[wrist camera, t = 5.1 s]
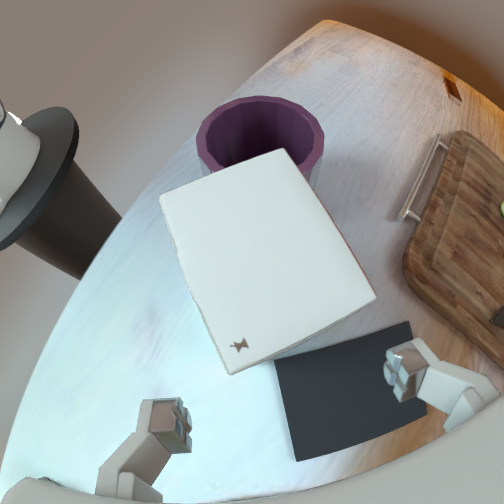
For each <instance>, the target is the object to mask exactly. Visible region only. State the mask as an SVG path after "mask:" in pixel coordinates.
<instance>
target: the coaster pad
mask: <svg viewBox="0 0 504 504" xmlns="http://www.w3.org/2000/svg"><path fill="white" fill-rule="evenodd" d="M411 340H413V336H412V332H411V328H410V324H409V321H408V322H405V323H402V324H399V325H397V326H394V327H391V328H388V329H385V330H382V331H379V332H376V333H373V334H370V335H367V336H364V337H361V338H358V339H354V340H351V341H348V342H344V343H341V344H338V345H334V346H330V347H327V348H323V349H319V350H316V351H312V352H308V353H304V354H300V355H296V356H292V357H287V358H283V359H279V360H275V361H274V362H275V367H276V371H277V376H278V380H279V385H280V389H281V394H282V398H283V403H284V407H285V412H286V417H287V421H288V426H289V430H290V435H291V439H292V444H293V448H294V453H295V457H296V461H297V462H299V461H303V460H307V459H311V458H315V457H318V456H322V455H326V454H329V453H332V452H336V451H339V450H342V449H345V448H348V447H351V446H354V445H357V444H360V443H363V442H365V441H368V440H371V439H373V438H376V437H378V436H381V435H383V434H386V433H388V432H390V431H393V430H395V429H397V428H400V427H402V426H404V425H406V424H408V423H410V422H413V421H415V420H417V419H419V418H421V417H423V416H425V415H427V409H426V402H425V401H423V400H422V399H420V398H418V397H417V396H415V397H413V398H410V399H408V400H406V401H403V402H401V403H399V401H398V400H397V398H396V396H395V395H394V393H393V388H394V386H391V385H389V384H388V383H387V381H386V379H385V377H384V373H383V366H384V363H385V362H386V360H387V358H386V351H387V350H388V349H390V348H393V347H395V346H398V345H400V344H403V343H405V342H408V341H411Z"/></svg>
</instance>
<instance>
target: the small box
mask: <svg viewBox="0 0 504 504" xmlns="http://www.w3.org/2000/svg"><path fill="white" fill-rule="evenodd" d="M159 201H160V205H161V208H162V212H163V215H164V218H165V221H166V224H167V227H168V230H169V233H170V236H171V239H172V242H173V245H174V248H175V251H176V254H177V257H178V260H179V263H180V266H181V269H182V272H183V275H184V278H185V281H186V283H187V286H188V288H189V290H190V293H191V296H192V298H193V300H194V302H195V304H196V306H197V308H198V310H199V312H200V314H201V317H202V319H203V321H204V324H205V326H206V328H207V330H208V333H209V335H210V337H211V339H212V342H213V344H214V346H215V348H216V351H217V353H218V355H219V357H220V359H221V361H222V363H223V365H224V367H225V369H226V371H227V373H228V374H229V375H233V374H235V373H238V372H240V371H243V370H245V369H248V368H250V367H252V366H255V365H257V364H259V363H262V362H264V361H266V360H268V359H271V358H273V357H275V356H277V355H279V354H281V353H283V352H286V351H288V350H290V349H292V348H294V347H296V346H298V345H300V344H302V343H303V342H305V341H307V340H309V339H311V338H313V337H315V336H317V335H319V334H320V333H322V332H324V331H326V330H328V329H329V328H331V327H333V326H335V325H336V324H338V323H340V322H342V321H343V320H345V319H347V318H348V317H350V316H351V315H353V314H355V313H356V312H358V311H360V310H361V309H363V308H364V307H366V306H367V305H369V304H370V303H371V302H373V301H374V300H375V299H376V298H377V295H376V293H375V291H374V289H373V287H372V285H371V284H370V282H369V280H368V278H367V276H366V275H365V273H364V271H363V269H362V268H361V266H360V264H359V263H358V261H357V259H356V257H355V256H354V254H353V252H352V250H351V249H350V247H349V245H348V244H347V242H346V240H345V239H344V237H343V235H342V234H341V232H340V231H339V229H338V228H337V226H336V225H335V223H334V221H333V220H332V218H331V216H330V215H329V213H328V212H327V210H326V209H325V207H324V206H323V204H322V202H321V201H320V199H319V198H318V196H317V195H316V193H315V192H314V190H313V189H312V187H311V186H310V184H309V183H308V181H307V180H306V178H305V177H304V176H303V174H302V173H301V171H300V170H299V168H298V167H297V166H296V164H295V163H294V161H293V160H292V158H291V157H290V156H289V154H288V153H287V152H286V150H285V149H284V148H280V149H277V150H274V151H272V152H269V153H266V154H263V155H260V156H257V157H255V158H252V159H249V160H246V161H244V162H241V163H238V164H236V165H233V166H230V167H228V168H225V169H223V170H220V171H217V172H215V173H212V174H210V175H208V176H205V177H203V178H200V179H198V180H195V181H193V182H190V183H188V184H185V185H183V186H180V187H178V188H176V189H173V190H171V191H168V192H166V193H163V194H161V195H160V197H159Z"/></svg>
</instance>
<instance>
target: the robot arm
mask: <svg viewBox="0 0 504 504" xmlns="http://www.w3.org/2000/svg"><path fill="white" fill-rule="evenodd" d="M39 150H40V139H39V137H38V136H37V135H35V134H34V133H32V132H30V131H29V130H28V129H27V128H26V127H24V126H23V125H21V121H20V120H19V119H18V118H17V117H15V116H14V115H13V114H11V113H10V112H7V111H6V110H5V108H4V106H3V104H2V102H1V100H0V215H1V213H2V211H3V210H4V208H5V206H6V204H7V202H8V201H9V199H10V198H11V197H12V196H13V195H14V193H15V192H16V191H17V190H18V188H19V187H20V186H21V185H22V183H23V182H24V180H25V179H26V177H27V176H28V174H29V172H30V171H31V169H32V167H33V165H34V163H35V161H36V159H37V156H38V153H39ZM386 358H387V360H386V362H385V363H384V366H383V373H384V377H385V379H386V381H387V383H388V384H389V385H391V386H394V388H393V393H394V395H395V396H396V398H397V400H398V401H399V403H401V402H403V401H406V400H408V399H410V398H413V397H415V396H417V397H418V398H420V399H422V400H423V401H425V402H427V403H428V404H430V405H432V406H434V407H436V408H437V409H439V410H441V411H443V412H444V413H446V414H448V415H449V416H448V418H447V419H446V421H445V422H444V424H443V428H444V429H445V431H446V433H445V434H444V435H442V436H440V437H438V438H437V439H435V440H433V441H431V442H429V443H427V444H426V445H424V446H422V447H420V448H418V449H416V450H414V451H412V452H410V453H408V454H406V455H403V456H401V457H399V458H397V459H395V460H392V461H390V462H388V463H385V464H383V465H381V466H378V467H376V468H373V469H370V470H368V471H365V472H362V473H360V474H357V475H354V476H351V477H348V478H345V479H342V480H339V481H336V482H332V483H329V484H325V485H322V486H318V487H314V488H310V489H306V490H302V491H297V492H293V493H288V494H283V495H277V496H272V497H266V498H259V499H251V500H243V501H233V502H221V503H198V504H504V393H503V394H502V395H501V393H500V392H499V391H498V390H497V388H496V387H495V386H494V385H493V383H492V382H491V381H490V380H489V379H488V377H487V376H486V375H483V374H480V373H477V372H474V371H472V370H469V369H466V368H463V367H461V366H458V365H455V364H452V363H450V362H447V361H444V360H442V361H440V360H439V359H438V358H437V356H436V355H435V354H434V353H433V352H432V350H431V349H430V348H429V347H428V346H427V345H426V343H425V342H424V341H423V340H422V339H421V338H419V337H418V338H416V339H413V340H411V341H408V342H405V343H403V344H400V345H398V346H395V347H393V348H390V349H388V350H387V351H386ZM191 430H192V421H191V416H190V413H189V411H188V409H187V408H185V407H183V401H182V399H181V398H180V397H178V398H161V399H143V401H142V402H141V406H140V411H139V417H138V422H137V428H136V432H134V433H132V434H131V435H130V436H129V437H128V438H127V439H126V440H125V441H124V442H123V443H122V445H121V446H120V447H119V448H118V449H117V450H116V451H115V452H114V453H113V454H112V455H111V456H110V457H109V458H108V459H107V461H106V462H105V463H104V464H103V465H102V466H101V467H100V468H99V473H98V478H97V483H96V489H95V495H94V494H89V493H84V492H80V491H76V490H72V489H68V488H64V487H60V486H57V485H53V484H50V483H47V482H44V481H41V480H38V479H35V478H32V477H26V478H24V479H22V480H21V481H19V482H18V483H17V484H15V485H14V486H13V487H12V488H11V489H9V490H8V491H7V492H6V493H5V495H4V497H3V499H2V501H1V504H177V503H162V497H163V495H162V494H161V493H160V492H158V491H157V490H155V489H154V488H152V487H151V486H152V484H153V483H154V481H155V480H156V478H157V477H158V475H159V474H160V472H161V471H162V469H163V468H164V466H165V465H166V463H167V462H168V460H169V459H170V457H171V454H179V453H192V438H191V437H190V436H189V433H190V432H191Z"/></svg>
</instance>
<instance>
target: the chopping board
mask: <svg viewBox="0 0 504 504" xmlns="http://www.w3.org/2000/svg"><path fill="white" fill-rule="evenodd" d="M440 140H441V135H440V134H436V136H435V139H434V141H433V143H432V146H431V148H430V150H429V153H428V155H427V157H426V159H425V162H424V164H423V166H422V168H421V170H420V172H419V175H418V177H417V179H416V181H415V183H414V185H413V187H412V189H411V191H410V193H409V195H408V197H407V199H406V201H405V203H404V205H403V207H402V209H401V211H400V212H399V214H398V216H397V218H398V220H399V221H404V220H405V218H406V216H407V214H408V215H409V216H410V217H412V218H413V219H414V220H416V221H417V222H418V223H417V225H416V227H415V229H414V232H413V234H412V236H411V238H410V240H409V242H408V244H407V246H406V248H405V252H404V255H403V259H402V260H403V272H404V275H405V277H406V280H407V282H408V285H409V286H410V288H411V289H412V290H413V291H414V292H415V293H416V294H417V296H419V297H420V298H421V299H422V300H424V301H425V302H426V303H427V304H429V305H430V306H431V307H432V308H433V309H435V310H436V311H437V312H438V313H440V314H441V315H442V316H443V317H444V318H446V319H447V320H448V321H449V322H450V323H451V324H453V325H454V326H455V327H456V328H457V329H459V330H460V331H461V332H462V333H463V334H464V335H465V336H467V337H468V338H469V339H470V340H471V341H472V342H473V343H475V344H476V345H477V346H478V347H479V348H480V349H481V350H482V351H483V352H485V353H486V354H487V355H488V356H489V357H490V358H491V359H492V360H493V361H494V362H495V363H496V364H498V365H499V366H500V367H501V368H502V369H503V370H504V162H503V161H502V160H501V159H500V158H499V157H498V156H497V155H496V154H495V153H493V152H492V151H491V150H490V149H489V148H488V147H487V146H485V145H484V144H483V143H482V142H481V141H480V140H478V139H477V138H476V137H475V136H473V135H472V134H470V133H468V132H465V131H463V130H461V131H457V132H456V133H455V134H454V135H453V137H452V138H451V140H450V143H449V146H448V147H447V146H446V145H445V144H443V143H442V142H441V141H440ZM438 145H440V146H441V147H443V148H444V149H445V150H447V152H446V155H445V157H444V160H443V163H442V166H441V168H440V171H439V174H438V176H437V179H436V181H435V184H434V186H433V189H432V191H431V194H430V196H429V198H428V201H427V203H426V205H425V208H424V210H423V212H422V214H421V217H419V216H418V215H416V214H415V213H414V212H412V211H411V210H410V208H411V206H412V204H413V202H414V200H415V198H416V196H417V194H418V191H419V189H420V187H421V185H422V183H423V180H424V178H425V176H426V174H427V171H428V169H429V167H430V164H431V162H432V160H433V157H434V155H435V152H436V150H437V147H438Z"/></svg>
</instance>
